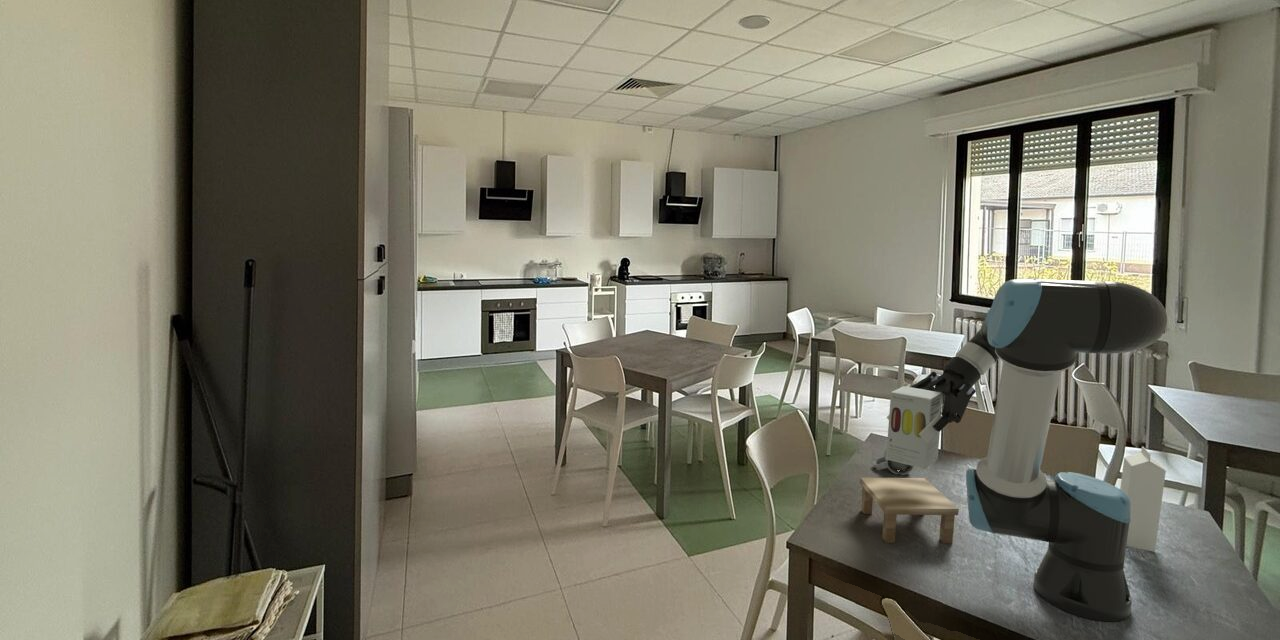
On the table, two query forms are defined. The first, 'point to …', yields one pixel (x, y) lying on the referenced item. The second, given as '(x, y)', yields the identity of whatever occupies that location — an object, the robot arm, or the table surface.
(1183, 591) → the table surface
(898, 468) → the ceramic mug
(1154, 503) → the milk
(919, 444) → the supplement box
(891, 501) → the footstool
